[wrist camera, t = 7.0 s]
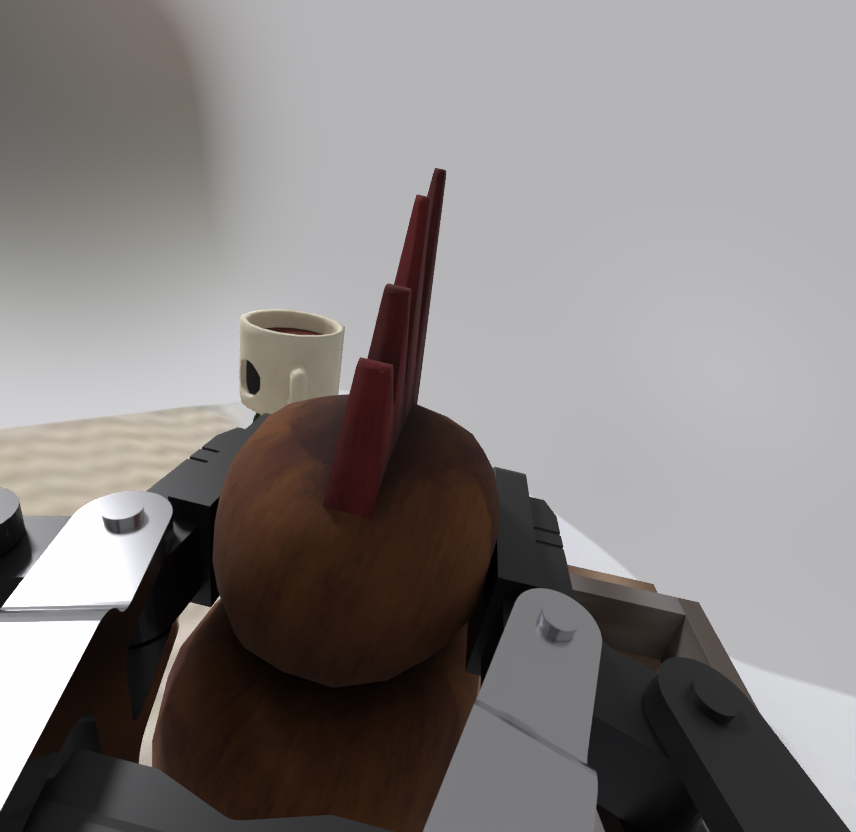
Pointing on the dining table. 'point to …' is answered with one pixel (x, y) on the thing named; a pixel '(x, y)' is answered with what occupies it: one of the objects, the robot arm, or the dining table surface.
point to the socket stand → (649, 626)
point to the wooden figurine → (341, 593)
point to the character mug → (288, 358)
